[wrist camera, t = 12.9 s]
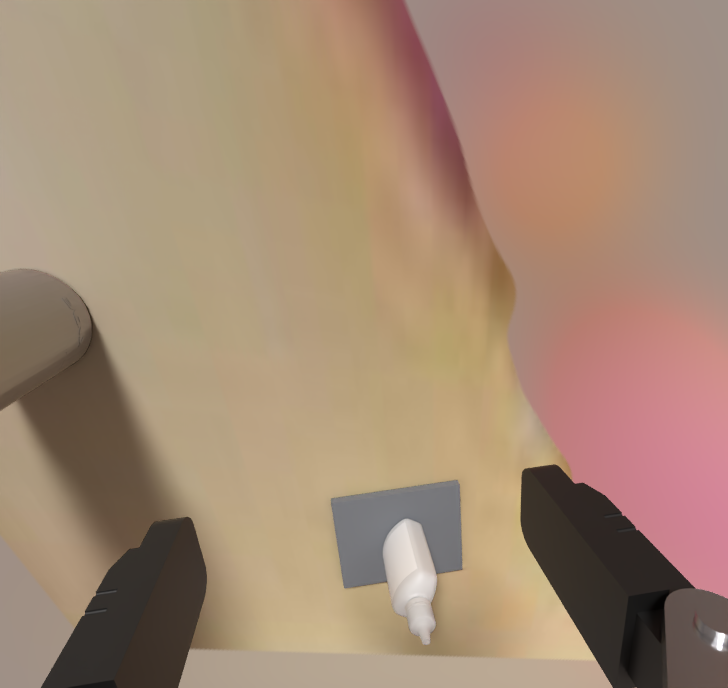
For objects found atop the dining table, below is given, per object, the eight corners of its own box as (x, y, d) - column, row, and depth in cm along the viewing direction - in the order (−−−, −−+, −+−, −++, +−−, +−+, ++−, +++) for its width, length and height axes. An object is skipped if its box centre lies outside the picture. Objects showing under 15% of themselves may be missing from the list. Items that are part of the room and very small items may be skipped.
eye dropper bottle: (369, 536, 47) (385, 643, 36) (412, 511, 46) (442, 611, 35) (390, 561, 48) (411, 671, 37) (432, 537, 48) (466, 640, 37)
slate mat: (343, 582, 50) (344, 588, 49) (331, 498, 46) (331, 503, 45) (460, 563, 51) (462, 569, 50) (457, 479, 47) (459, 484, 46)
